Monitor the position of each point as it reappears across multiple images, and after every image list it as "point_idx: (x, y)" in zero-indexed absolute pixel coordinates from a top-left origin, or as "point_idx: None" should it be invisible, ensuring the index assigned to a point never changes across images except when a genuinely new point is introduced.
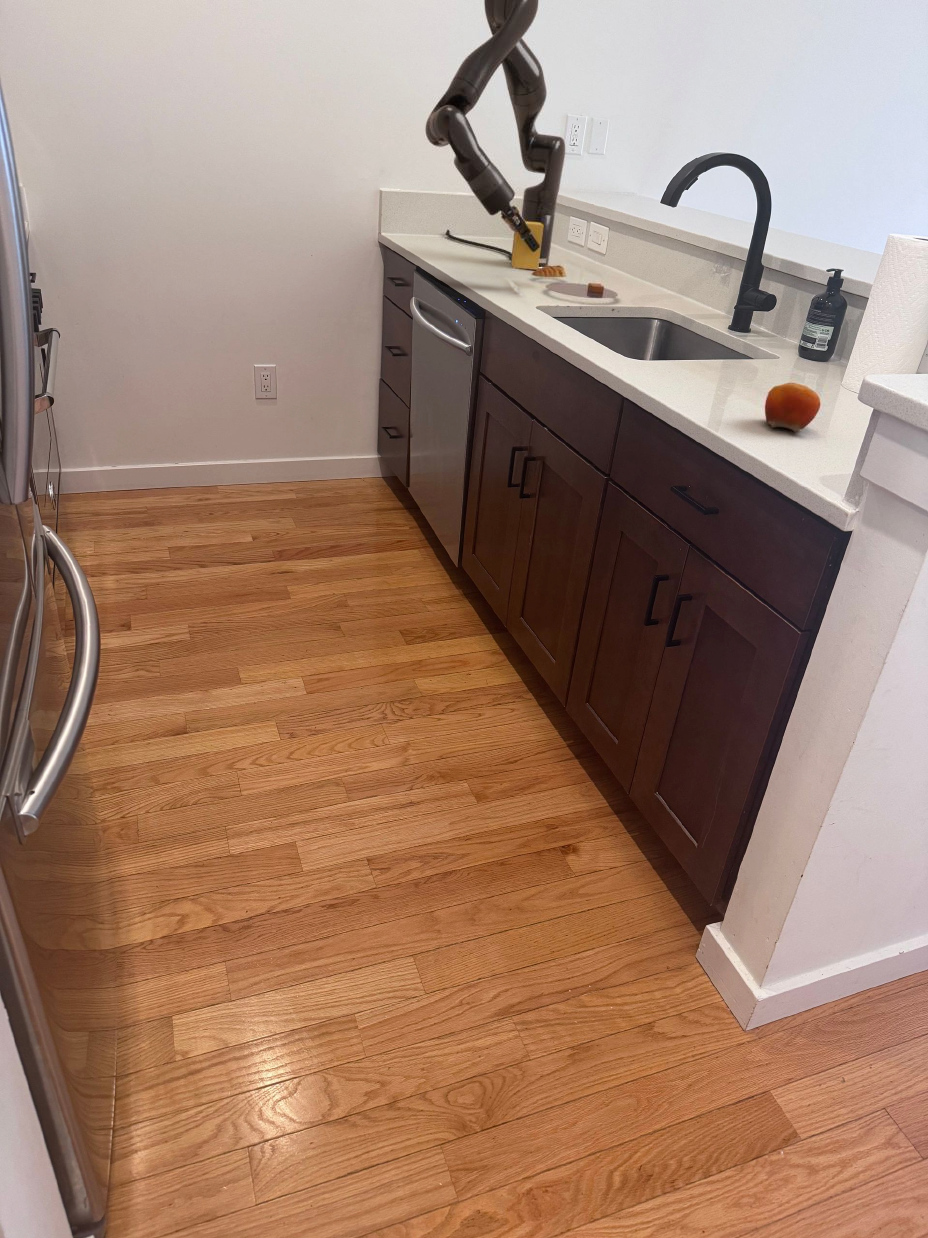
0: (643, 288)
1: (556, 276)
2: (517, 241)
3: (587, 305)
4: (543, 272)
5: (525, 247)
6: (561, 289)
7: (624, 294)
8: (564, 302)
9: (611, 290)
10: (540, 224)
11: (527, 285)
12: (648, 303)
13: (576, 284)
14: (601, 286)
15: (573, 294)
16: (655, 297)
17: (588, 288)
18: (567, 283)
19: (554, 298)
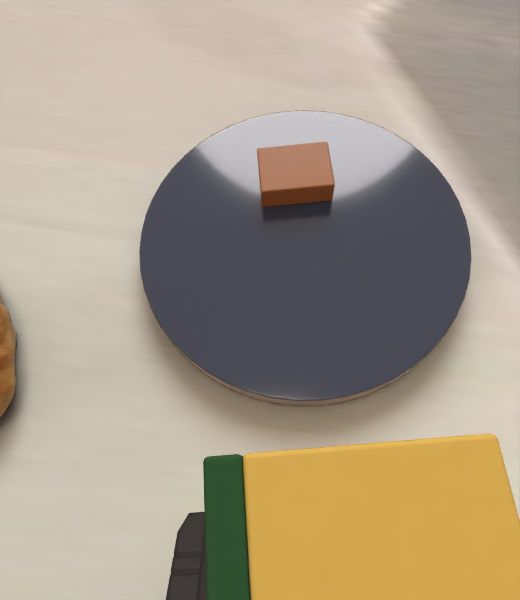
0: (38, 22)
1: (5, 309)
2: None
3: (493, 247)
4: None
5: None
6: (337, 327)
7: (178, 89)
8: (489, 338)
9: (245, 122)
10: (488, 486)
11: (129, 479)
12: (313, 41)
13: (168, 240)
14: (325, 150)
15: (437, 286)
16: (190, 10)
17: (275, 204)
18: (158, 278)
19: (417, 375)
